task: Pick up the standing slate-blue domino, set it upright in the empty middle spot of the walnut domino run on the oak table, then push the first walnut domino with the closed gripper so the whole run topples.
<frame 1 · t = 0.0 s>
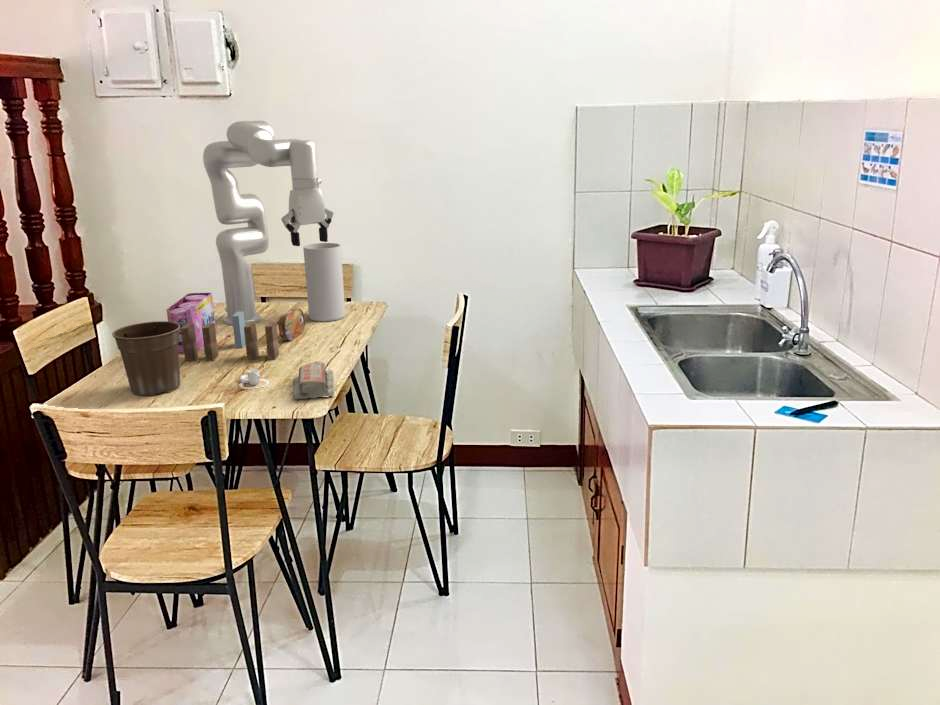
hand: (310, 243, 234), 31 cm above the table, tool pointing down, fingers open, 9 cm apart
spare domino: (241, 345, 244), on the table
domino 1: (191, 358, 232), on the table
cylinder vase: (327, 318, 275), on the table
teacup and saucer: (259, 382, 212), on the table, touching packaged product
domino 4: (253, 357, 232), on the table
gum box: (195, 343, 249), on the table
plant pot: (155, 389, 207), on the table
packaged product: (314, 388, 205), on the table, touching teacup and saucer
domino 2: (212, 358, 232), on the table
domino 5: (273, 357, 232), on the table
tin: (292, 337, 253), on the table
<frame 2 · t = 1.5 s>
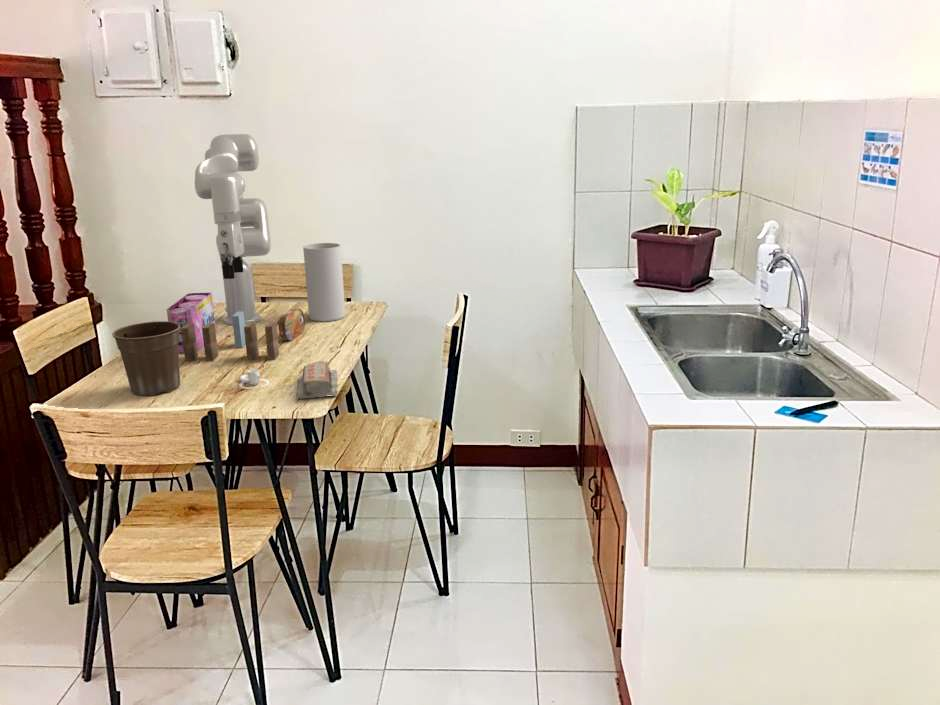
hand: (233, 275, 238), 22 cm above the table, tool pointing down, fingers open, 9 cm apart
teacup and saucer: (259, 382, 212), on the table
packaged product: (318, 387, 206), on the table
everything else where it was.
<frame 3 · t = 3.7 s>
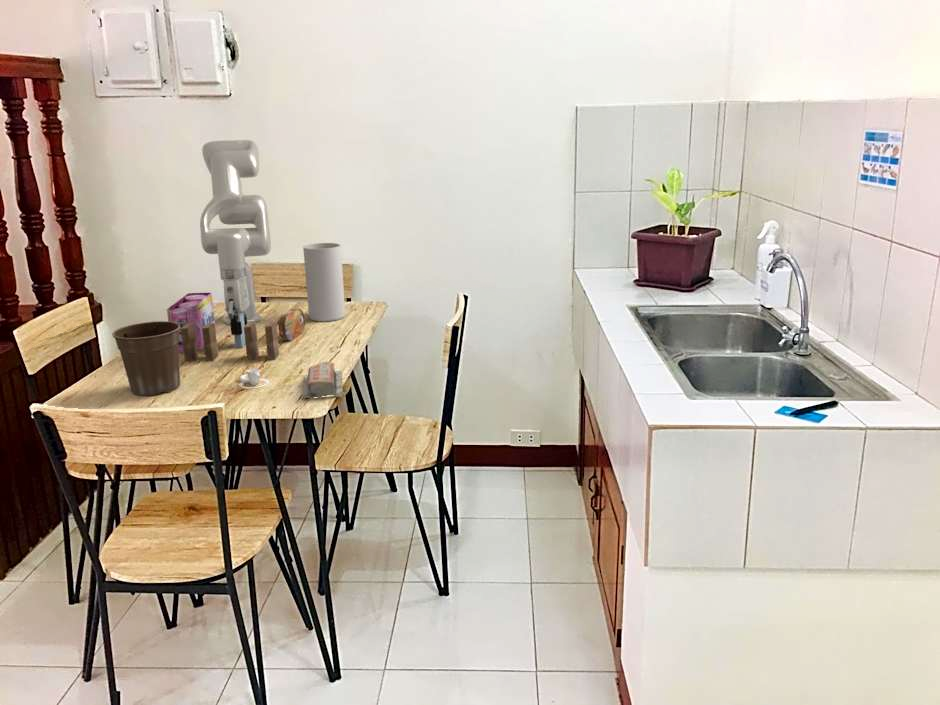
hand: (239, 331, 243), 5 cm above the table, tool pointing down, fingers closed on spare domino, 5 cm apart
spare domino: (241, 345, 244), on the table, touching gripper
packaged product: (323, 388, 206), on the table
everything else where it was.
when the fingers open (5 cm above the table, at t = 10.3 s): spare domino stays where it is, on the table.
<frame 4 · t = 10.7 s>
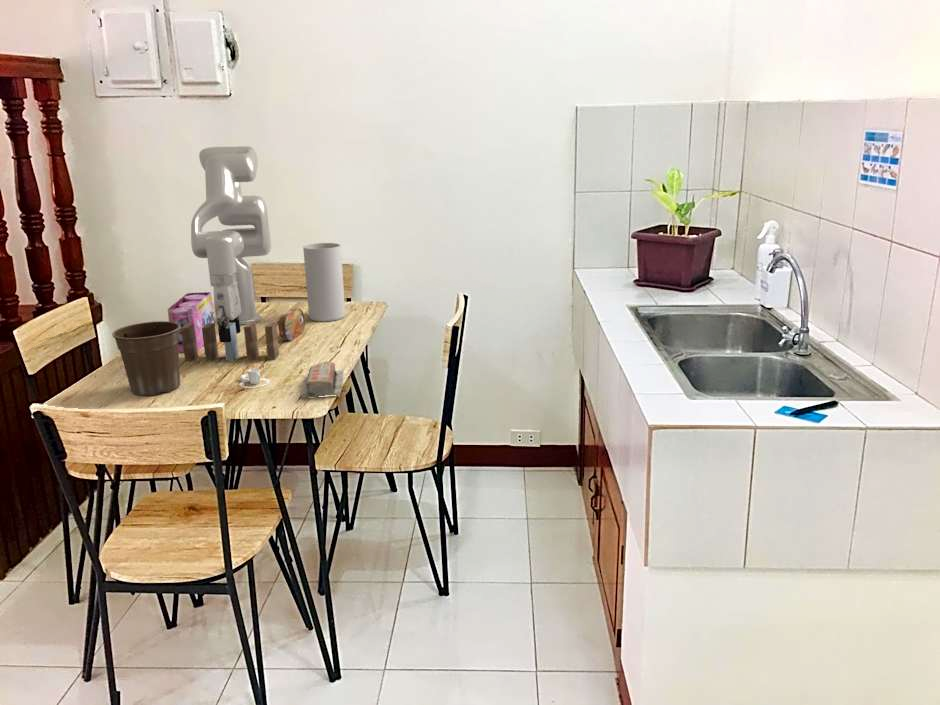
hand: (230, 337, 230), 6 cm above the table, tool pointing down, fingers open, 9 cm apart
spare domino: (232, 357, 232), on the table
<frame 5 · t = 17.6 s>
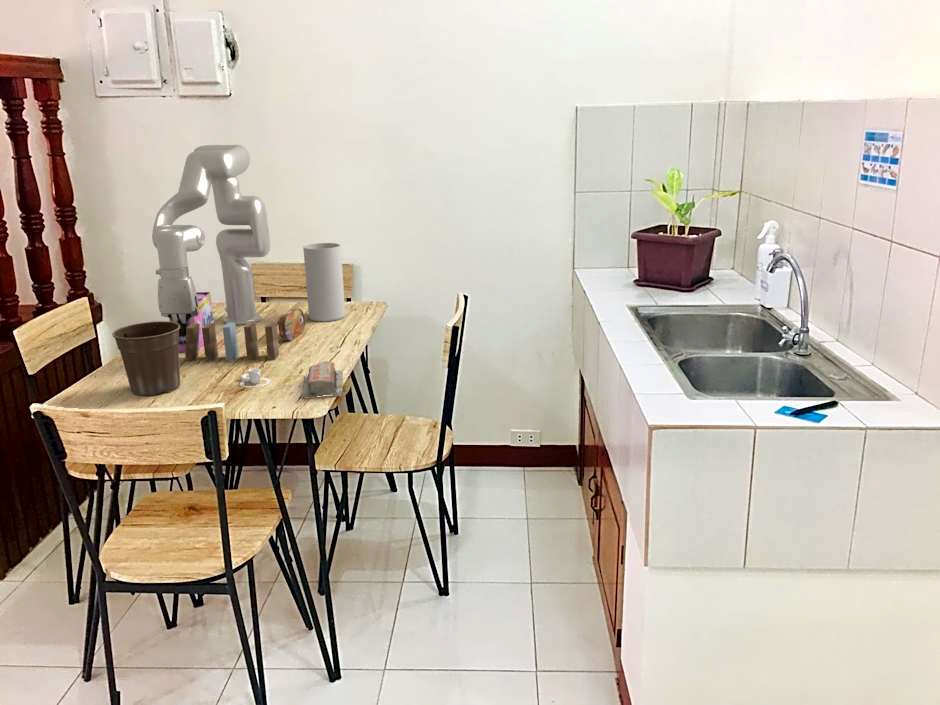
hand: (183, 335, 230), 7 cm above the table, tool pointing down, fingers closed
domino 1: (191, 358, 232), on the table, tilted 9°
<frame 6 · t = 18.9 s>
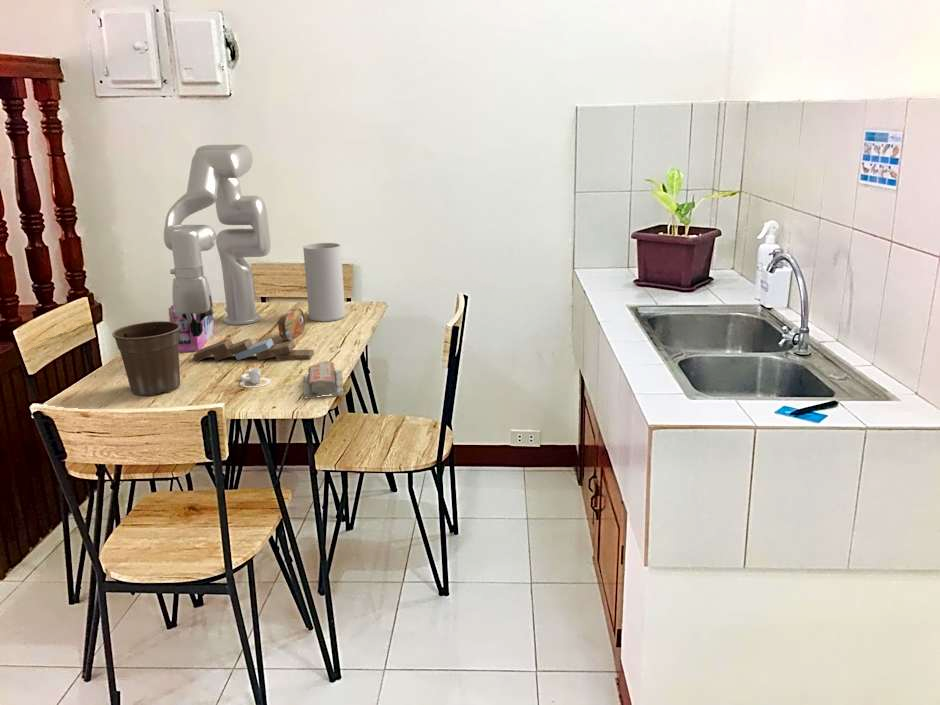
hand: (197, 335, 230), 7 cm above the table, tool pointing down, fingers closed
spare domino: (238, 354, 232), point 1 cm above the table, tilted 71°, touching domino 2, domino 4
domino 1: (197, 355, 232), point 1 cm above the table, tilted 70°, touching domino 2
domino 4: (260, 354, 231), point 1 cm above the table, tilted 75°, touching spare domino
domino 2: (217, 355, 232), point 1 cm above the table, tilted 71°, touching domino 1, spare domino
domino 5: (277, 356, 232), on the table, tilted 90°
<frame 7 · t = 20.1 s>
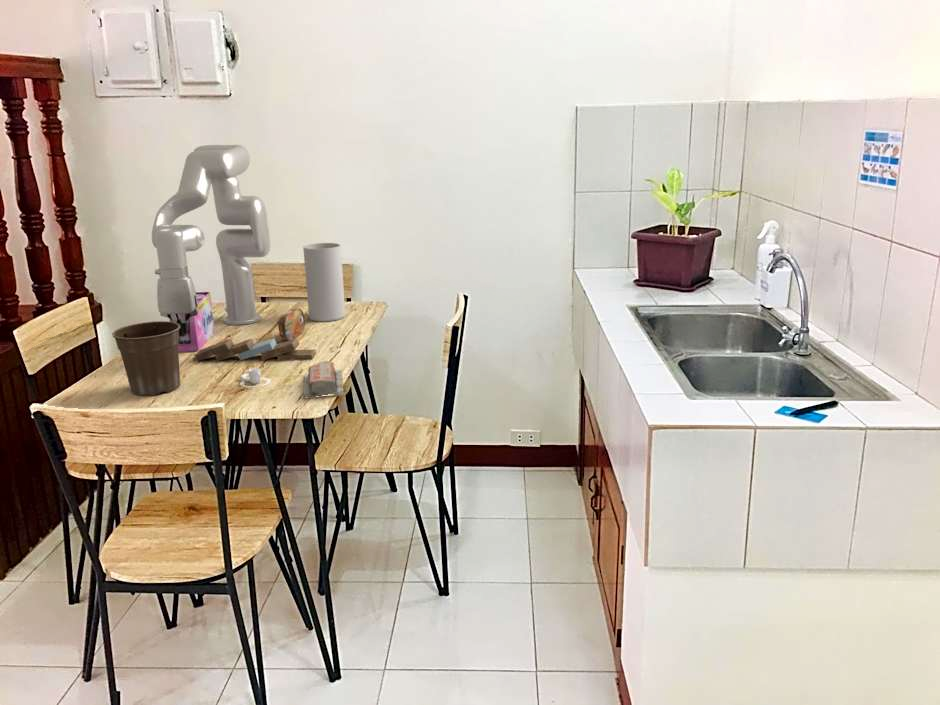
hand: (182, 335, 230), 7 cm above the table, tool pointing down, fingers closed
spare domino: (241, 354, 232), point 1 cm above the table, tilted 72°, touching domino 4
domino 4: (264, 354, 231), point 1 cm above the table, tilted 72°, touching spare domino
domino 2: (219, 355, 231), point 1 cm above the table, tilted 72°, touching domino 1
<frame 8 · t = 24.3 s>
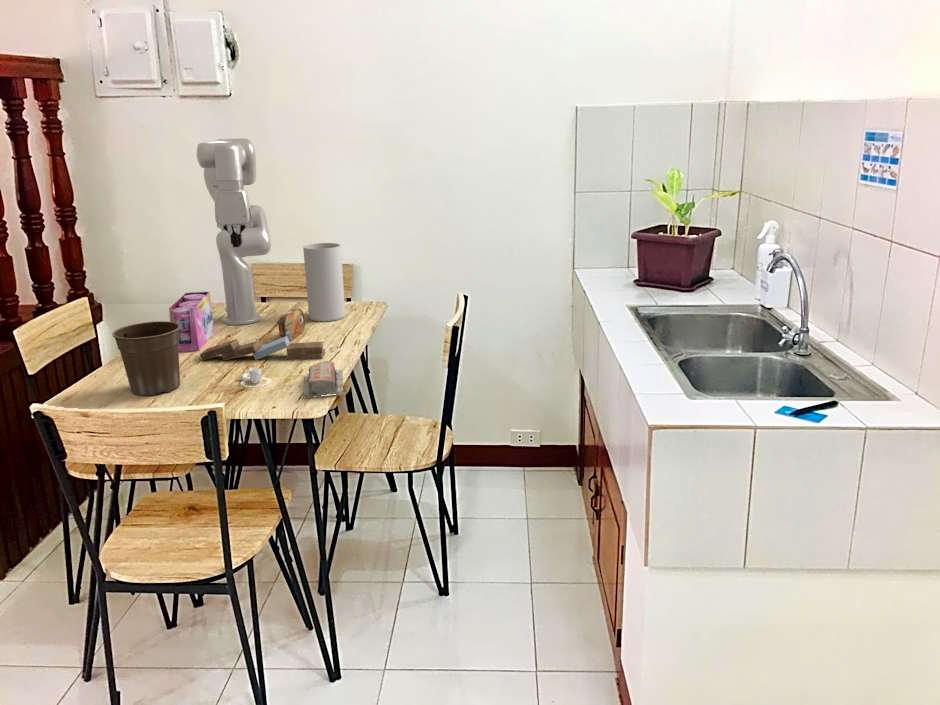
hand: (237, 246, 245), 29 cm above the table, tool pointing down, fingers closed
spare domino: (255, 354, 232), point 1 cm above the table, tilted 70°, touching domino 2, domino 4
domino 1: (204, 354, 232), point 1 cm above the table, tilted 72°, touching domino 2
domino 4: (287, 349, 231), point 2 cm above the table, tilted 90°, touching domino 5, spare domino
domino 2: (225, 354, 232), point 1 cm above the table, tilted 75°, touching domino 1, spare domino
domino 5: (289, 355, 232), on the table, tilted 90°, touching domino 4
at the end: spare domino tilted 70°; domino 5 tilted 90° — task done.
